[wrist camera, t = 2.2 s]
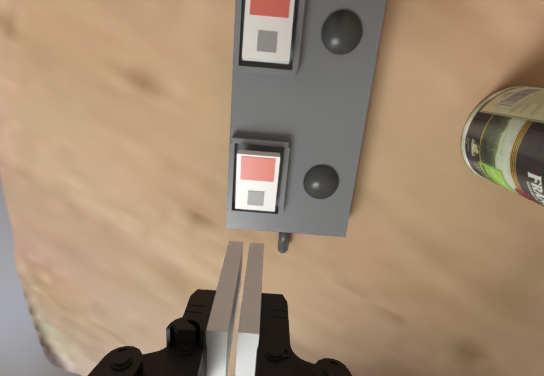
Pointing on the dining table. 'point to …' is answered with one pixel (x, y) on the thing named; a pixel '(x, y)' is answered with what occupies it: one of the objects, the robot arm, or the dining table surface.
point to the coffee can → (508, 140)
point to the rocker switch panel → (306, 115)
